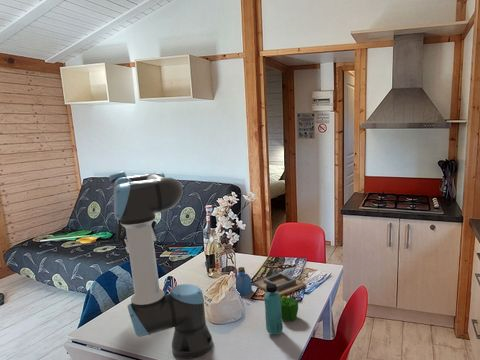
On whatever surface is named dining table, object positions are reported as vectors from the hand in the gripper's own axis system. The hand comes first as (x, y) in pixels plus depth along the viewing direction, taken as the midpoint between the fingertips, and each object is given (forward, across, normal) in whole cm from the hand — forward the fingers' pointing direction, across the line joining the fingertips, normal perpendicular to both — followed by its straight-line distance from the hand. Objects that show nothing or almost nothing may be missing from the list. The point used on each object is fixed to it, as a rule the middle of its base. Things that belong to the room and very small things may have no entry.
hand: (142, 246), depth 174 cm
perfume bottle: (+36, -30, +25) cm, 53 cm away
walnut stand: (+39, -46, +34) cm, 69 cm away
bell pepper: (+40, -28, +57) cm, 75 cm away
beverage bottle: (+38, -16, +60) cm, 73 cm away
